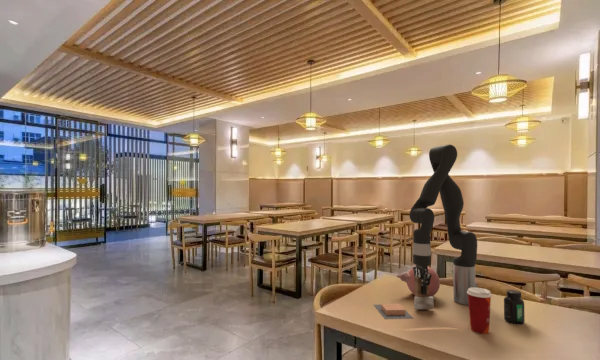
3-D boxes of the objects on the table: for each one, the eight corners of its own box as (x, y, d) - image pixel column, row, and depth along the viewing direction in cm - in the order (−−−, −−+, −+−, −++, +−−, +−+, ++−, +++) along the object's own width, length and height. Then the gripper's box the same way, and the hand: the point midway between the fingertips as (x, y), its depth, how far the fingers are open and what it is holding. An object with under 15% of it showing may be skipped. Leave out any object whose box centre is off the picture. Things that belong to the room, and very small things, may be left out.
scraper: (429, 305, 140) (429, 276, 141) (433, 309, 136) (433, 278, 137) (411, 306, 140) (411, 276, 140) (415, 309, 136) (415, 278, 136)
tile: (399, 303, 139) (405, 309, 132) (399, 308, 139) (405, 314, 132) (381, 304, 139) (386, 310, 132) (381, 308, 139) (386, 315, 132)
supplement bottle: (525, 326, 123) (524, 295, 123) (504, 322, 126) (503, 292, 127) (523, 320, 129) (523, 290, 129) (503, 316, 132) (503, 287, 133)
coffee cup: (497, 335, 115) (496, 293, 116) (474, 335, 115) (473, 293, 116) (484, 325, 124) (483, 286, 124) (463, 325, 124) (462, 286, 124)
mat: (399, 306, 144) (399, 304, 144) (413, 320, 128) (413, 318, 128) (373, 306, 144) (373, 304, 144) (384, 321, 128) (384, 319, 128)
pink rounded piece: (396, 290, 167) (396, 260, 168) (437, 293, 161) (437, 263, 162) (396, 299, 153) (396, 267, 153) (442, 304, 147) (441, 270, 147)
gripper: (437, 256, 133) (438, 298, 132) (423, 250, 147) (423, 288, 146) (420, 256, 132) (420, 298, 132) (407, 250, 146) (407, 288, 146)
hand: (421, 292), depth 139 cm, fingers closed on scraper, 3 cm apart
